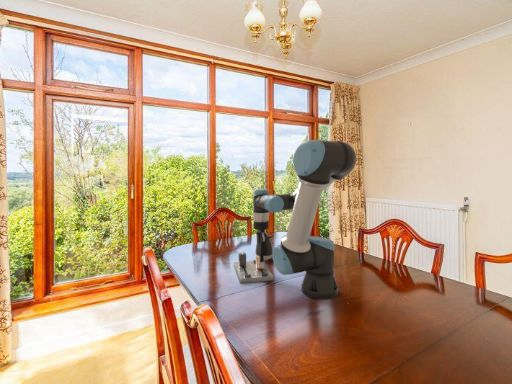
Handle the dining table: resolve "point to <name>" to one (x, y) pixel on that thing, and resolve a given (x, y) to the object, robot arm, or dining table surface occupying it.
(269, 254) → the pump dispenser
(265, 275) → the console
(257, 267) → the fader orange
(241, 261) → the fader graphite
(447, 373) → the dining table surface
